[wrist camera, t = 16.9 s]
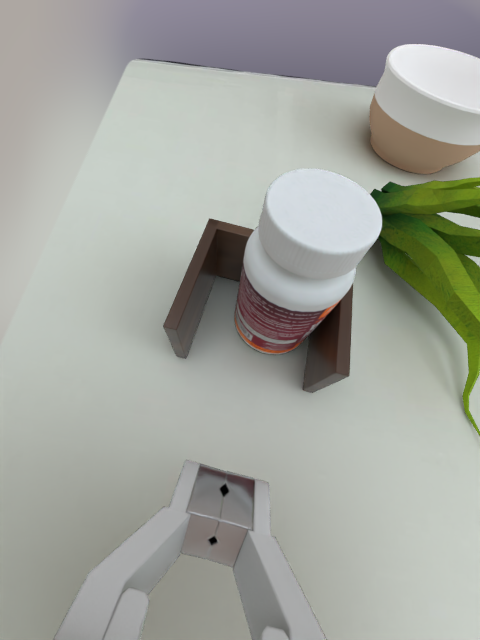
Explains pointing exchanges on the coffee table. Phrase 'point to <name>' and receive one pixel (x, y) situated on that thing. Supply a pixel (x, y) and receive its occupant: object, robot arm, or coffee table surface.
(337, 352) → the u-shaped stand
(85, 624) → the robot arm
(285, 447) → the coffee table surface
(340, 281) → the pill bottle
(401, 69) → the bowl
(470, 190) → the decorative plant
